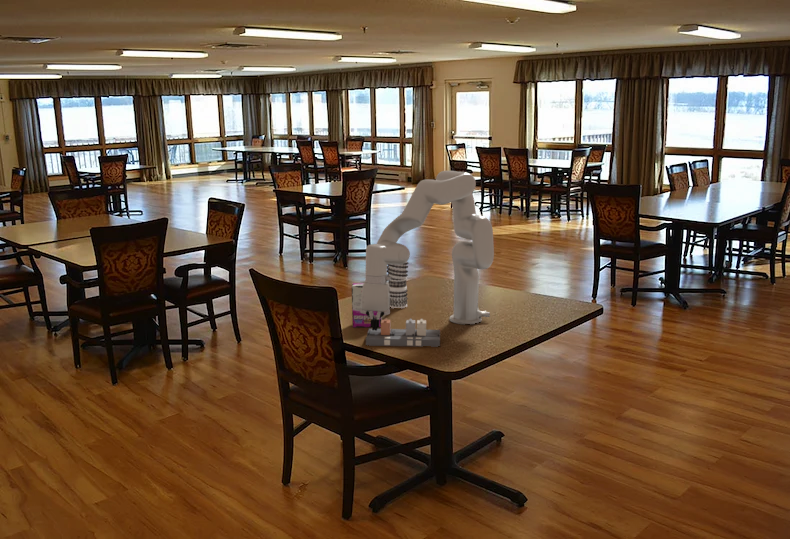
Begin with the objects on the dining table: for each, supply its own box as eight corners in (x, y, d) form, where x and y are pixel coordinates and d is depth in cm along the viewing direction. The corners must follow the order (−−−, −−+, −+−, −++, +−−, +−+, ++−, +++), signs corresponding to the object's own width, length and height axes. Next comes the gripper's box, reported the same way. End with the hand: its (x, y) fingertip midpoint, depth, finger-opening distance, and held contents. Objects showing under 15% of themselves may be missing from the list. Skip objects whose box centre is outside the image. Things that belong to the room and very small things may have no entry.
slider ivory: (426, 332, 262) (426, 318, 260) (425, 335, 258) (426, 321, 257) (417, 332, 262) (417, 318, 261) (416, 335, 258) (416, 321, 257)
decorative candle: (395, 310, 300) (395, 250, 295) (382, 305, 308) (381, 247, 302) (412, 306, 306) (413, 248, 301) (398, 302, 313) (398, 245, 308)
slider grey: (415, 332, 262) (415, 318, 261) (414, 335, 258) (414, 321, 257) (406, 332, 262) (406, 318, 261) (405, 335, 258) (405, 321, 257)
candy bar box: (381, 323, 282) (381, 282, 278) (381, 327, 277) (381, 285, 273) (352, 323, 282) (352, 282, 278) (352, 327, 277) (351, 285, 273)
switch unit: (439, 336, 266) (440, 327, 265) (439, 346, 254) (440, 337, 253) (369, 335, 267) (369, 326, 267) (365, 345, 255) (365, 336, 255)
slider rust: (390, 331, 262) (390, 318, 261) (389, 335, 258) (389, 321, 257) (381, 331, 263) (381, 318, 261) (380, 334, 259) (380, 321, 258)
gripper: (397, 278, 260) (396, 327, 263) (356, 276, 261) (355, 325, 264) (396, 282, 252) (394, 333, 256) (353, 280, 254) (352, 331, 257)
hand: (374, 329), depth 260 cm, fingers closed
